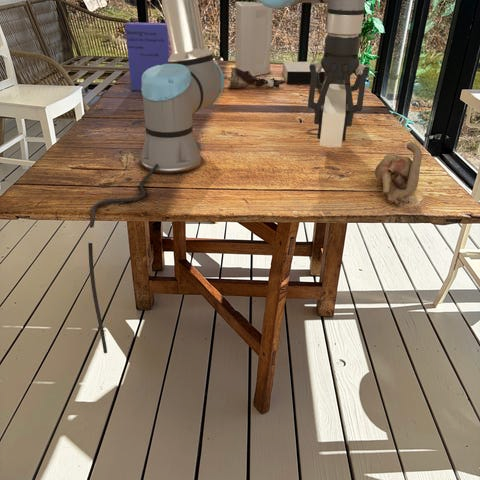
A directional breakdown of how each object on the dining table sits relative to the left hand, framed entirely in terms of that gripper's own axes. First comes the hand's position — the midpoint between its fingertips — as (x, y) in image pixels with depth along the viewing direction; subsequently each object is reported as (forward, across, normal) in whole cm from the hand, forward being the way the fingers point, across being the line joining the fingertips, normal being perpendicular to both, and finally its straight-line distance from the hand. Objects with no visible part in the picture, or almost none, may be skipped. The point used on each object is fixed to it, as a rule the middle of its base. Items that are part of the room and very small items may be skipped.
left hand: (331, 137), depth 116 cm
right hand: (-3, 0, -20) cm, 20 cm away
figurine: (+9, +35, -79) cm, 87 cm away
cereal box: (+9, +70, -67) cm, 97 cm away
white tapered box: (+9, +38, -109) cm, 115 cm away
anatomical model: (+9, -15, +10) cm, 20 cm away
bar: (+1, 0, -10) cm, 10 cm away
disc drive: (+9, +14, -102) cm, 103 cm away
